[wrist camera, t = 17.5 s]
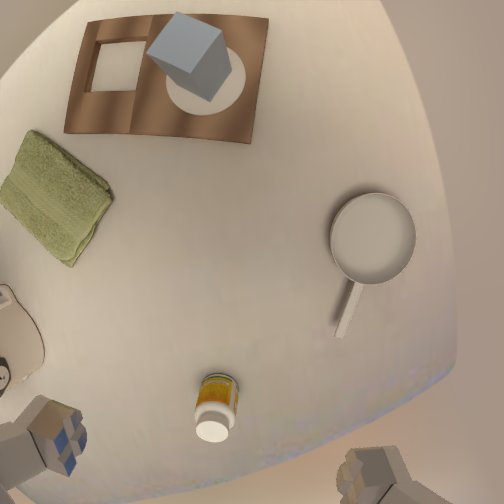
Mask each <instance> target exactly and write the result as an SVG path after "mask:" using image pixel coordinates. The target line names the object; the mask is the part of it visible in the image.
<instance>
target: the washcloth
mask: <svg viewBox="0 0 504 504" xmlns="http://www.w3.org/2000/svg"><path fill="white" fill-rule="evenodd" d="M109 189H110V186H109V185H108V184H107V182H105V181H104V180H102V179H101V178H100V177H99V176H97V175H95V174H94V173H92V171H91V170H90V169H88V168H87V167H85V166H84V165H82V164H81V163H80V162H79V161H78V160H76V159H75V158H73V156H71V155H69V154H67V153H66V152H65V151H64V150H63V149H61V148H60V147H59V146H58V145H57V144H54V143H53V142H52V141H50V140H49V139H47V138H45V137H44V136H43V135H42V134H40V133H36V132H35V131H33V130H30V131H28V132H27V134H26V136H25V138H24V140H23V143H22V145H21V147H20V150H19V152H18V154H17V156H16V158H15V164H14V166H13V168H12V171H11V173H10V175H9V176H7V178H6V179H5V182H4V183H3V185H2V186H1V190H0V203H1V205H3V206H4V207H5V209H8V210H9V211H10V212H11V213H12V214H13V215H14V216H15V218H16V219H17V220H19V221H20V223H21V224H22V225H23V226H25V227H26V228H27V230H28V231H29V232H30V233H32V235H34V236H35V237H36V238H37V240H39V241H40V243H41V244H42V245H43V246H44V247H45V248H46V249H47V251H49V252H50V253H51V254H52V255H53V256H55V257H56V259H59V260H60V261H61V262H62V263H63V264H65V265H67V266H68V267H73V264H74V262H75V261H76V259H77V257H78V256H79V254H80V253H81V252H82V250H83V249H84V248H85V246H86V245H87V244H88V242H89V240H90V239H91V237H92V235H93V232H94V229H95V227H96V225H97V224H98V222H99V221H100V219H101V217H102V215H103V214H104V212H105V211H106V209H107V208H108V207H109V205H110V204H111V203H112V199H111V198H110V196H111V195H110V194H109V193H107V192H108V190H109Z"/></svg>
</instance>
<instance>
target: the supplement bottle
mask: <svg viewBox="0 0 504 504" xmlns="http://www.w3.org/2000/svg"><path fill="white" fill-rule="evenodd" d="M237 402H238V385H237V383H236V382H235V381H234V380H233V379H232V378H231V377H229V376H226V375H222V374H213V375H210V376H208V377H207V378H205V379H204V381H203V383H202V386H201V389H200V393H199V397H198V400H197V404H196V408H195V411H194V418H195V421H196V422H197V425H196V433H197V435H198V436H199V437H200V438H202V439H203V440H205V441H209V442H220V441H223V440H225V439H226V438H227V437H228V434H229V429H230V428H231V427H232V426H233V425H234V423H235V420H236V412H237Z"/></svg>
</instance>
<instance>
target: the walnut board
mask: <svg viewBox="0 0 504 504" xmlns="http://www.w3.org/2000/svg"><path fill="white" fill-rule="evenodd" d="M174 15H175V14H161V15H144V16H132V17H122V18H114V19H106V20H99V21H93V22H88V23H87V27H86V30H85V33H84V37H83V40H82V44H81V48H80V51H79V55H78V59H77V63H76V68H75V72H74V76H73V81H72V86H71V91H70V96H69V101H68V107H67V113H66V119H65V126H64V133H68V134H135V135H157V136H173V137H186V138H198V139H209V140H219V141H228V142H237V143H245V144H251V137H252V130H253V123H254V116H255V109H256V102H257V95H258V89H259V82H260V75H261V68H262V62H263V55H264V49H265V42H266V36H267V29H268V21H269V19H267V18H259V17H248V16H236V15H219V14H184V15H187V16H189V17H192V18H194V19H197V20H199V21H202V22H204V23H206V24H209V25H211V26H213V27H215V28H218V29H220V30H222V32H223V36H224V40H225V44H226V47H228V48H230V49H231V50H232V51H234V52H235V53H236V54H237V55H238V56H239V58H240V59H241V61H242V62H243V65H244V68H245V74H246V80H245V86H244V89H243V92H242V93H241V95H240V97H239V98H238V100H237V101H236V102H235V103H234V104H233V105H231V106H230V107H229V108H227V109H226V110H224V111H222V112H220V113H217V114H213V115H208V116H198V115H193V114H189V113H187V112H185V111H183V110H181V109H180V108H179V107H178V106H176V105H175V104H174V103H173V101H172V100H171V98H170V96H169V94H168V92H167V87H166V77H167V74H166V73H165V72H164V71H163V70H162V69H161V68H160V67H159V66H158V65H157V64H156V63H155V62H154V61H153V60H152V59H151V58H150V57H149V56H148V55H147V54H146V52H147V50H148V49H149V48H150V46H151V45H152V43H153V42H154V41H155V39H156V38H157V37H158V35H159V34H160V33H161V31H162V30H163V29H164V27H165V26H166V25H167V23H168V22H169V21H170V20H171V18H172V17H173V16H174ZM133 41H146V45H145V50H144V54H143V58H142V63H141V68H140V72H139V77H138V82H137V88H136V91H107V92H90V90H91V85H92V80H93V75H94V71H95V66H96V62H97V58H98V54H99V50H100V46H101V44H109V43H120V42H133Z"/></svg>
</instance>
